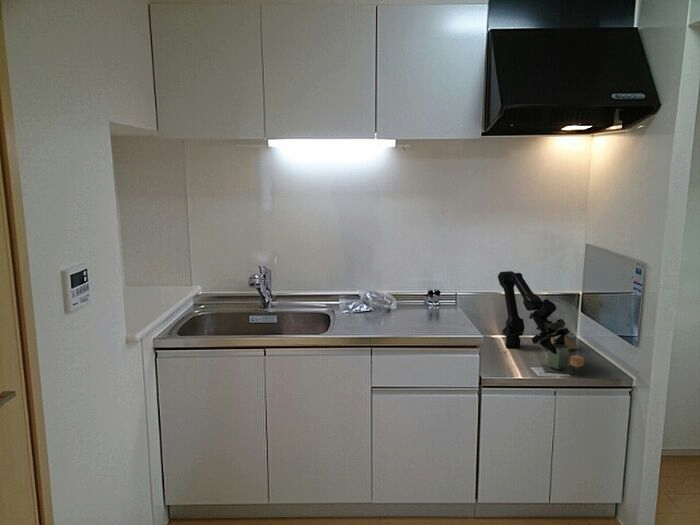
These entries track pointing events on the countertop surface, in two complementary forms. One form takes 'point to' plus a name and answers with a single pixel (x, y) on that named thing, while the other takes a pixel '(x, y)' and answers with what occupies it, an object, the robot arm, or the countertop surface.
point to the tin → (558, 356)
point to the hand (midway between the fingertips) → (560, 352)
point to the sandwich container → (567, 341)
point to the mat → (552, 370)
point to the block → (576, 361)
